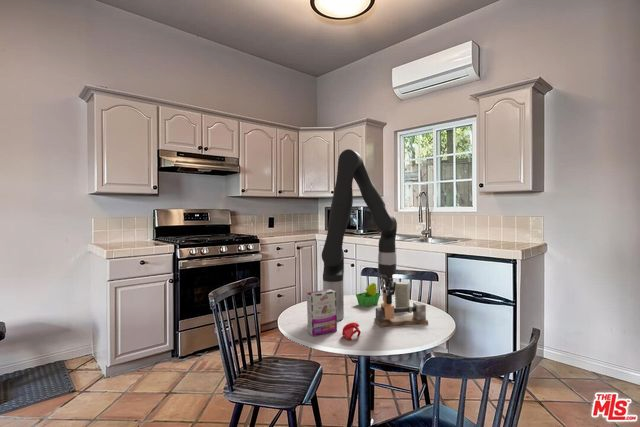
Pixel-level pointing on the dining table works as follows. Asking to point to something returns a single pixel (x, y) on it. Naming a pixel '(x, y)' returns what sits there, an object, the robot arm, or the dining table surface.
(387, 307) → the sleeve
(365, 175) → the robot arm
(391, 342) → the dining table surface
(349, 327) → the red toy helmet
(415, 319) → the rail
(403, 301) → the skincare box
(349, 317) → the dining table surface
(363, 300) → the fruit basket
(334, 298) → the candy bar box
